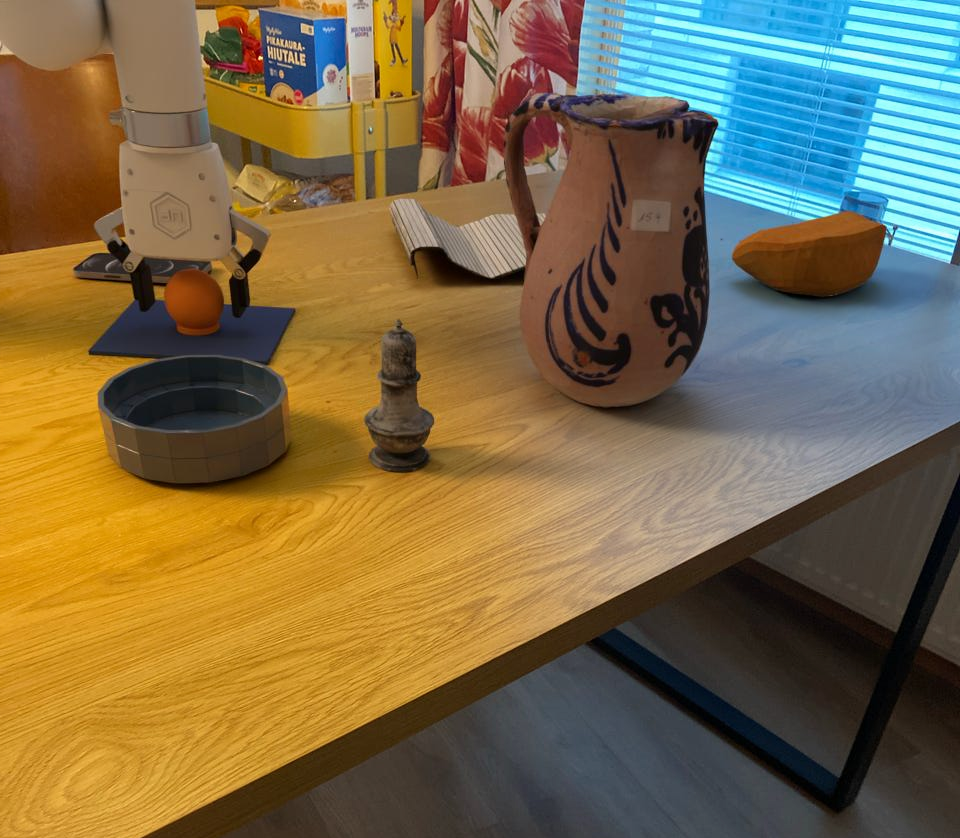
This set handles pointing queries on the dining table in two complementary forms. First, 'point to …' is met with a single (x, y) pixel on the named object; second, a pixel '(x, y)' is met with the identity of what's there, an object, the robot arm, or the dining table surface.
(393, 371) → the salt shaker
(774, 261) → the bread
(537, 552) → the dining table surface
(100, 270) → the smartphone
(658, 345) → the ceramic pitcher
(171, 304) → the orange rounded piece
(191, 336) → the cloth
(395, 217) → the mat
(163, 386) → the bowl
